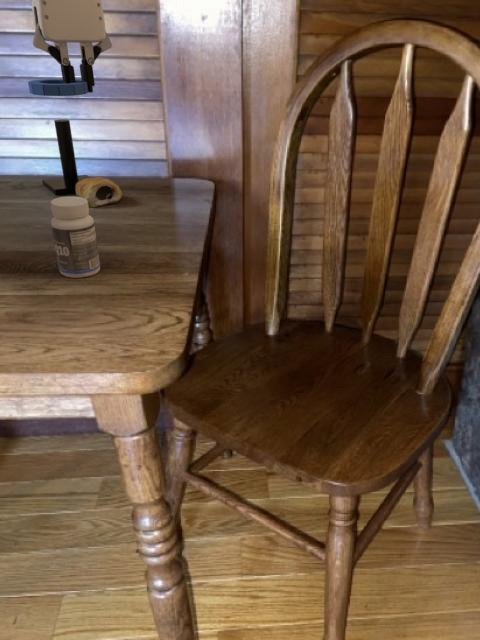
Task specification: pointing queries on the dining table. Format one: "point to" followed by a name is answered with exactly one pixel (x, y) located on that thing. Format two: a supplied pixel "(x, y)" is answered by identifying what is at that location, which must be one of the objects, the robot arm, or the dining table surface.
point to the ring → (57, 87)
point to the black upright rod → (65, 162)
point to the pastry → (98, 191)
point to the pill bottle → (74, 237)
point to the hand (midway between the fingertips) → (80, 91)
